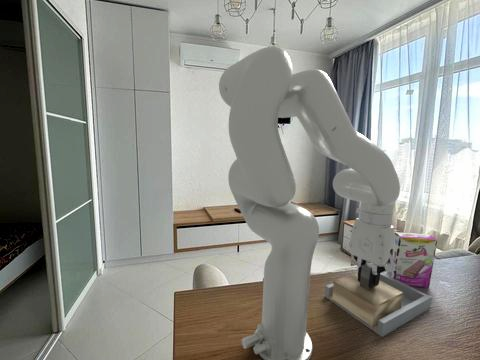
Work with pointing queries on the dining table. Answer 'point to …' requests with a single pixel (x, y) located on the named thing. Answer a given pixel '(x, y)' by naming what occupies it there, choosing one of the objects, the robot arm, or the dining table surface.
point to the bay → (410, 309)
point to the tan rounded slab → (366, 296)
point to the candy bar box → (413, 258)
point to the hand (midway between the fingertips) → (367, 282)
